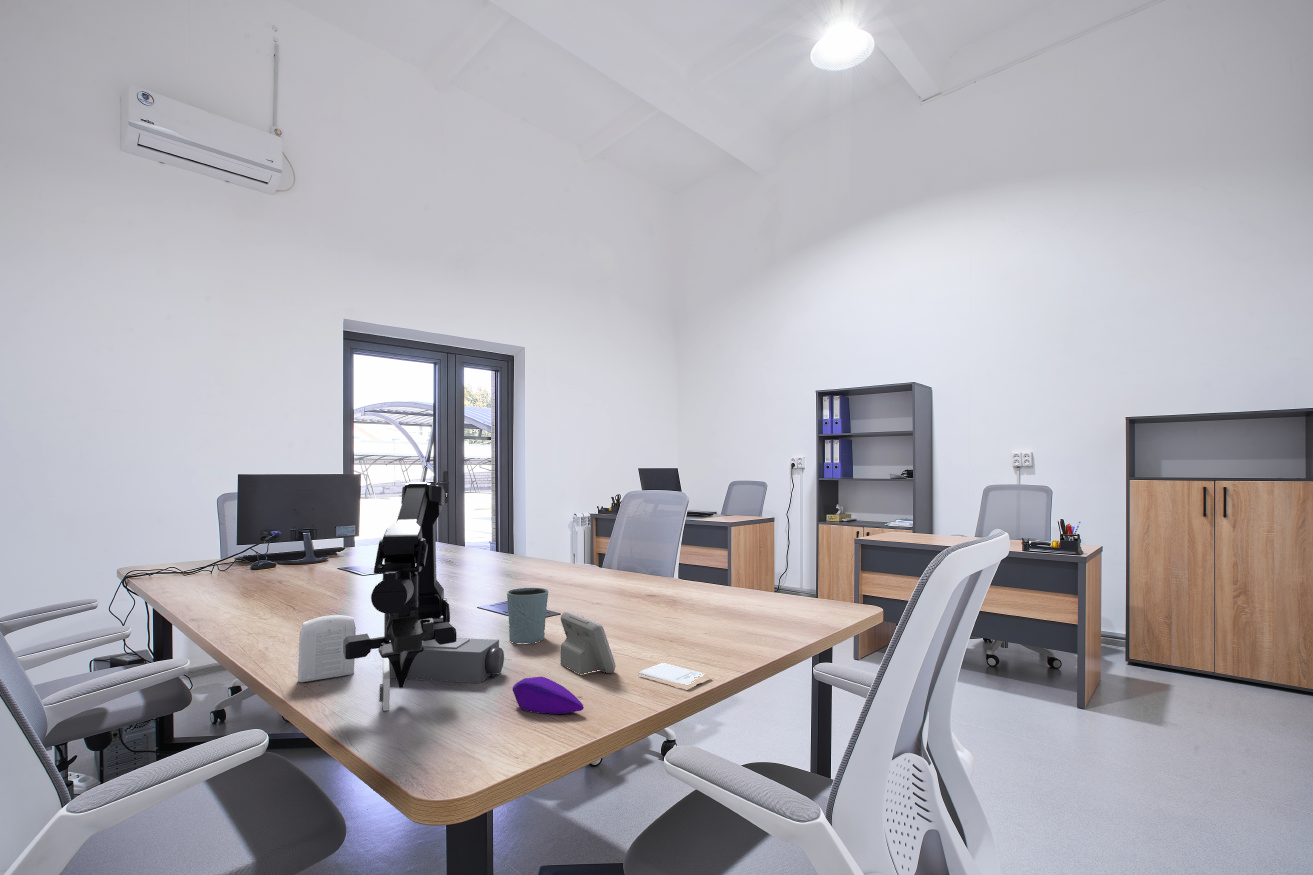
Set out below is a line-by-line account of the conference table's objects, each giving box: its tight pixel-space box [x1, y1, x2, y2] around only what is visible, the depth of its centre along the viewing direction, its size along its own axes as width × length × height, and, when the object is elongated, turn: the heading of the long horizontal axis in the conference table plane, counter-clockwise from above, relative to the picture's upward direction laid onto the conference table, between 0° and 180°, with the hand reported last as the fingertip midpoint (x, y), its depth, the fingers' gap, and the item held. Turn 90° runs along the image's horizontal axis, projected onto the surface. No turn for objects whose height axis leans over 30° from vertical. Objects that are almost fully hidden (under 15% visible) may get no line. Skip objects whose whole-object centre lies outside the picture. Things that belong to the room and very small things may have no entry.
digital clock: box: [560, 611, 617, 675], centre depth 129 cm, size 16×9×11 cm, turn 25°
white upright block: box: [297, 614, 357, 683], centre depth 124 cm, size 10×4×12 cm, turn 123°
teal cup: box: [506, 587, 549, 644], centre depth 150 cm, size 10×10×12 cm
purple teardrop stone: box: [512, 676, 584, 715], centre depth 106 cm, size 5×5×15 cm
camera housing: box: [391, 637, 505, 684], centre depth 125 cm, size 9×22×6 cm, turn 81°
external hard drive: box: [638, 662, 705, 685], centre depth 122 cm, size 2×8×12 cm
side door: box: [378, 658, 392, 712], centre depth 113 cm, size 2×18×5 cm, turn 25°
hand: (400, 687), depth 110 cm, fingers closed
